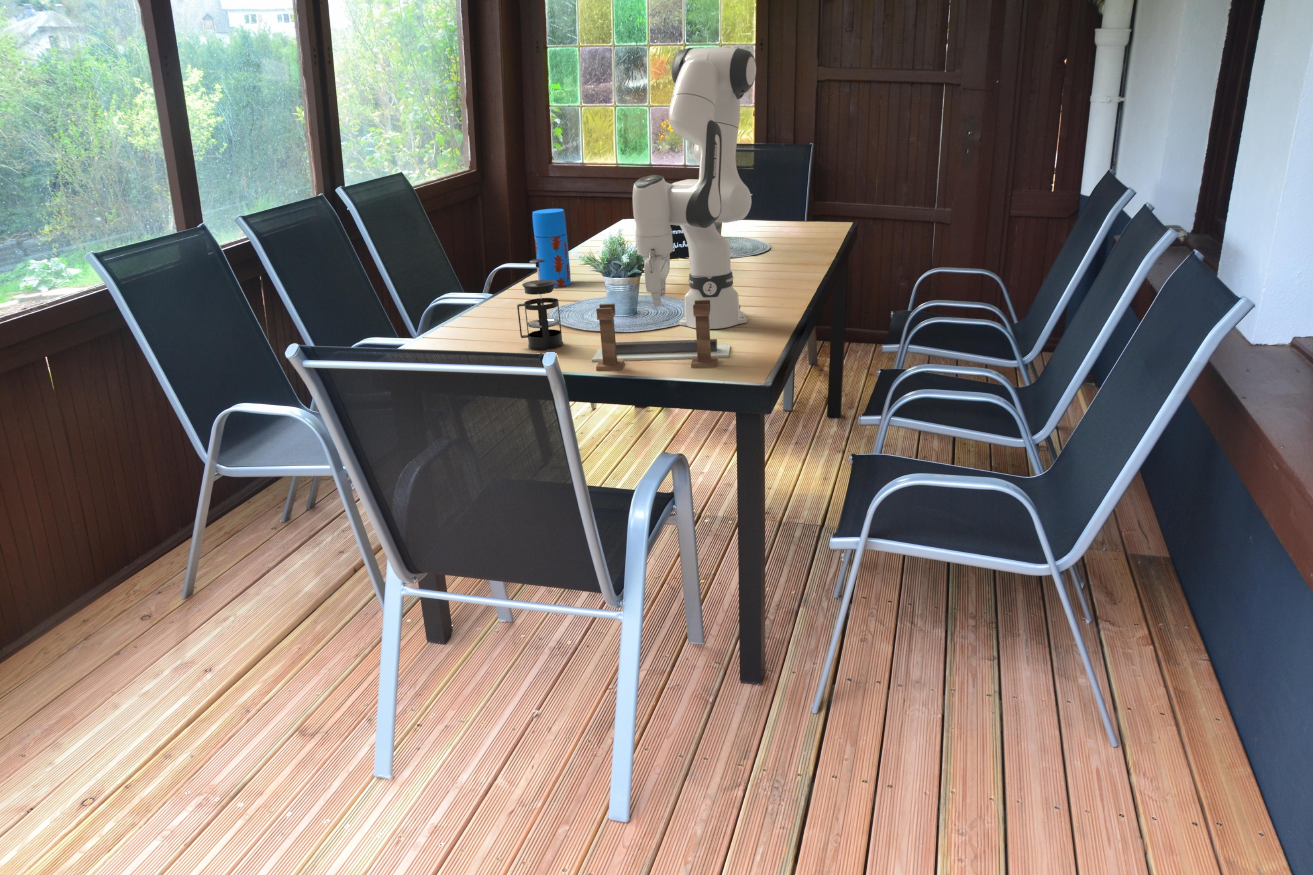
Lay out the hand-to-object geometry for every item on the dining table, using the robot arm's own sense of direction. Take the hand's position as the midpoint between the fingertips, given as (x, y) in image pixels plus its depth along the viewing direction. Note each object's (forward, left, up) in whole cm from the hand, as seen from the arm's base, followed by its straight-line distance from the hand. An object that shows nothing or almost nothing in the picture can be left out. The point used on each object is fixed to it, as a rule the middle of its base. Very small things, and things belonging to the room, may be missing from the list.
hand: (659, 300), depth 252 cm
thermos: (-92, -47, -14) cm, 105 cm away
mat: (+1, 0, -13) cm, 13 cm away
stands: (+11, 0, -13) cm, 17 cm away
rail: (+1, 0, -13) cm, 13 cm away
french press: (-11, -33, -14) cm, 38 cm away
